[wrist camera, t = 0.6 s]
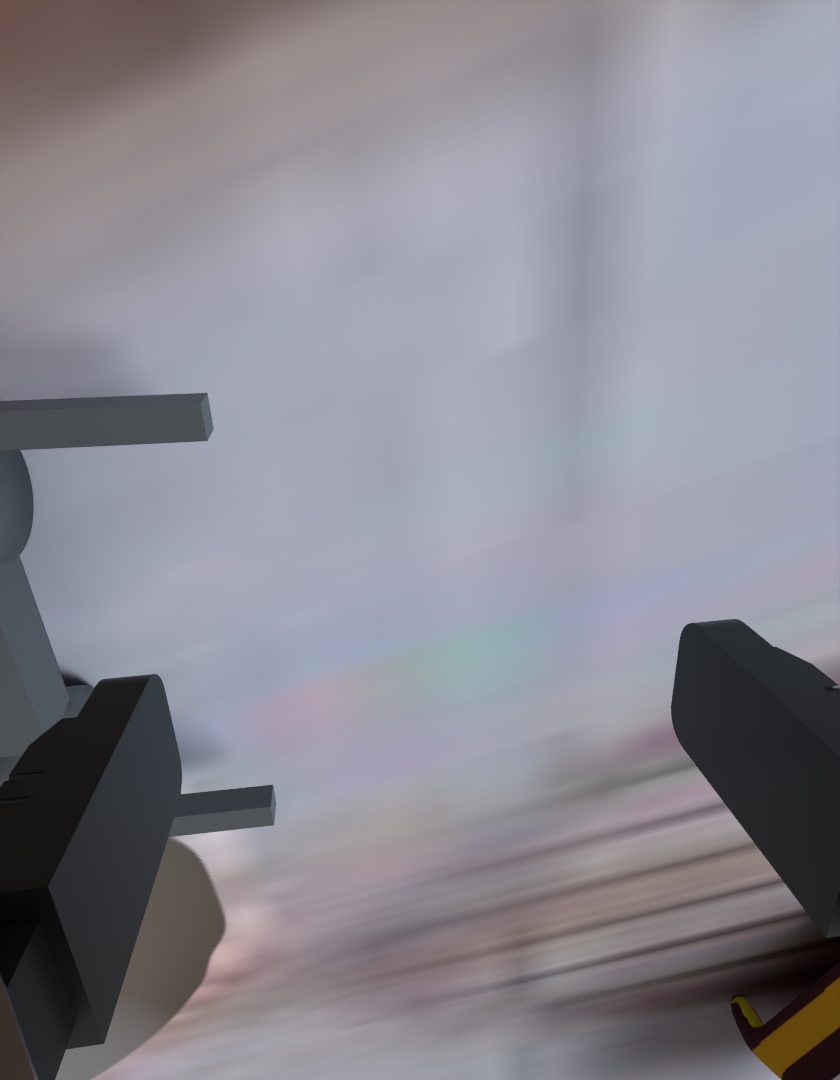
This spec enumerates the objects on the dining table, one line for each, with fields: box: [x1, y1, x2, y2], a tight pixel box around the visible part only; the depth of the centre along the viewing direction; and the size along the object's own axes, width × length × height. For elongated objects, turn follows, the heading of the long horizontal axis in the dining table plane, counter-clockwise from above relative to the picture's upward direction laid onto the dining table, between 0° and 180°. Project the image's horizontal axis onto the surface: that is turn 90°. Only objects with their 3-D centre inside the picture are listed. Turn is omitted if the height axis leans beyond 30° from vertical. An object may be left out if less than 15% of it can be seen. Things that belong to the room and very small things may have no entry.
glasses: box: [0, 393, 276, 837], centre depth 25 cm, size 19×11×5 cm, turn 0°
